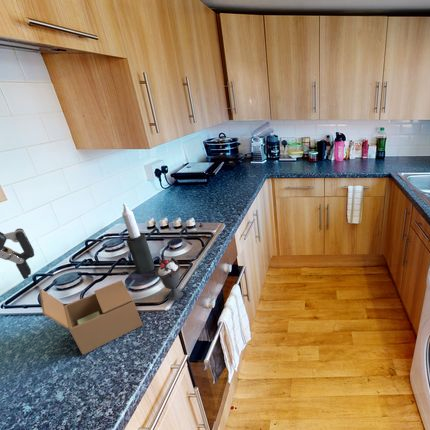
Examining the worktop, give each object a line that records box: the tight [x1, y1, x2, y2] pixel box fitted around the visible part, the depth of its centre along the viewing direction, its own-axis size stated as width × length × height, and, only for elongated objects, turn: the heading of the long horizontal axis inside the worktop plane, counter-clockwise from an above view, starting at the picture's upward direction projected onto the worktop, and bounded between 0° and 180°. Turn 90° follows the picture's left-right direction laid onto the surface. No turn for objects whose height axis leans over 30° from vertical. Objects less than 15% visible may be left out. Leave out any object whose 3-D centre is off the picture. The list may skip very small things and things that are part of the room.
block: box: [77, 311, 100, 325], centre depth 73 cm, size 4×4×4 cm
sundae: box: [154, 257, 184, 302], centre depth 84 cm, size 7×7×15 cm
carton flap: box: [39, 288, 69, 329], centre depth 66 cm, size 6×11×1 cm
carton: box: [63, 279, 144, 356], centre depth 74 cm, size 13×11×9 cm
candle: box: [122, 203, 155, 275], centre depth 94 cm, size 5×5×25 cm
